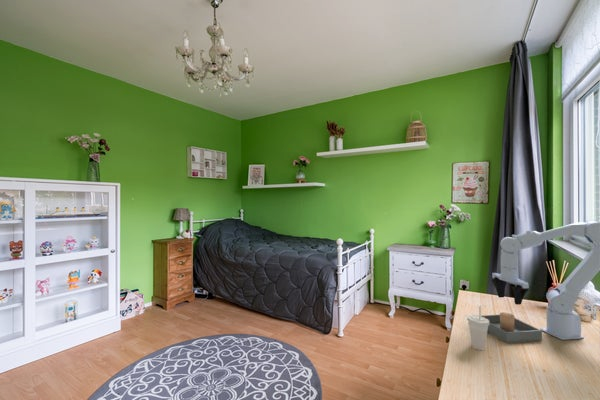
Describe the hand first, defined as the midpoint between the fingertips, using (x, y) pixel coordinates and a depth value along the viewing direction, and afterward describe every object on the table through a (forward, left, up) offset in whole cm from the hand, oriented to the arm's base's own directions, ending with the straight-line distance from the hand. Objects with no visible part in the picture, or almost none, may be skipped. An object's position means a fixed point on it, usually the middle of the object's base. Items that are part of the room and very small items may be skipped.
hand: (509, 300), depth 110 cm
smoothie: (+26, +14, -10) cm, 31 cm away
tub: (+7, +6, -9) cm, 13 cm away
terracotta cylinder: (+7, +6, -9) cm, 13 cm away
